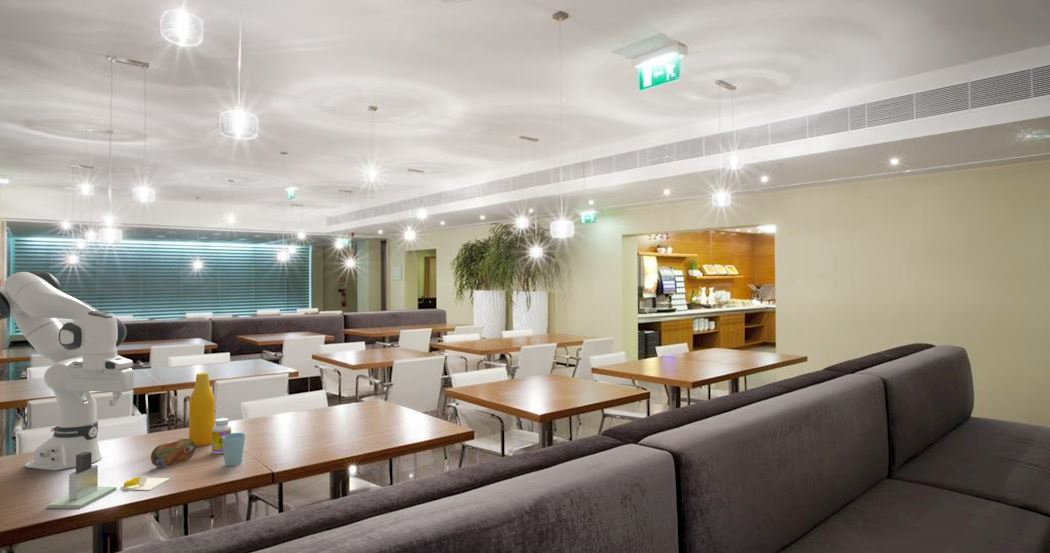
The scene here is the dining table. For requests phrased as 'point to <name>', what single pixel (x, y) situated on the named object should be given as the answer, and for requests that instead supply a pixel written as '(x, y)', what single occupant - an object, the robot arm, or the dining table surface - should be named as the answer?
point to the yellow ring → (135, 481)
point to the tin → (172, 453)
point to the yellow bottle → (201, 411)
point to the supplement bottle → (219, 434)
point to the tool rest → (83, 501)
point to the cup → (233, 448)
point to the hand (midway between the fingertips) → (99, 404)
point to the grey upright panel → (83, 477)
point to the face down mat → (148, 484)
